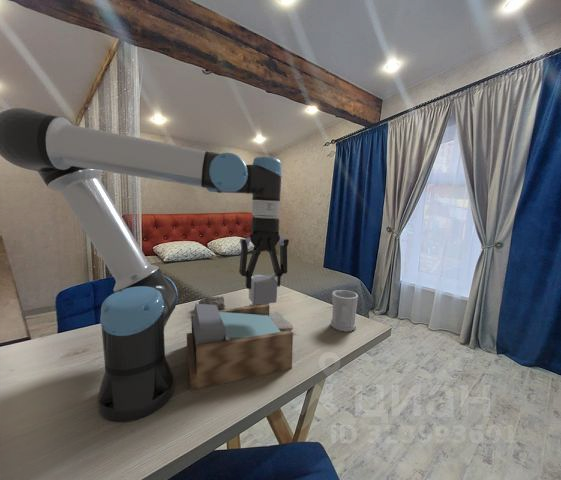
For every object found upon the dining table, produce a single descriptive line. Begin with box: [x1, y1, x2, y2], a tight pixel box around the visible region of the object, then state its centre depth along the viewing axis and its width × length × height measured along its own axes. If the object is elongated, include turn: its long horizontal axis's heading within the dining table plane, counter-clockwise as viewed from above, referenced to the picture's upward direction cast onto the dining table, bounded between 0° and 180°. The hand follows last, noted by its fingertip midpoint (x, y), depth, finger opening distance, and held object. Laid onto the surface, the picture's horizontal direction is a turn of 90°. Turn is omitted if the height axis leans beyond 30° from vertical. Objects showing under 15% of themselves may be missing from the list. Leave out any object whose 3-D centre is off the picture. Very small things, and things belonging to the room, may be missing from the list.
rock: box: [198, 295, 226, 310], centre depth 108 cm, size 13×9×6 cm, turn 46°
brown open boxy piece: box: [186, 304, 294, 391], centre depth 76 cm, size 26×20×10 cm
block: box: [253, 275, 278, 305], centre depth 77 cm, size 6×6×6 cm
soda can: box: [251, 273, 270, 306], centre depth 113 cm, size 7×7×13 cm
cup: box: [330, 289, 359, 333], centre depth 95 cm, size 10×9×12 cm
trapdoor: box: [192, 303, 281, 346], centre depth 76 cm, size 23×17×5 cm
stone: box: [269, 311, 294, 332], centre depth 96 cm, size 15×11×3 cm
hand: (262, 298), depth 77 cm, fingers closed on block, 6 cm apart
